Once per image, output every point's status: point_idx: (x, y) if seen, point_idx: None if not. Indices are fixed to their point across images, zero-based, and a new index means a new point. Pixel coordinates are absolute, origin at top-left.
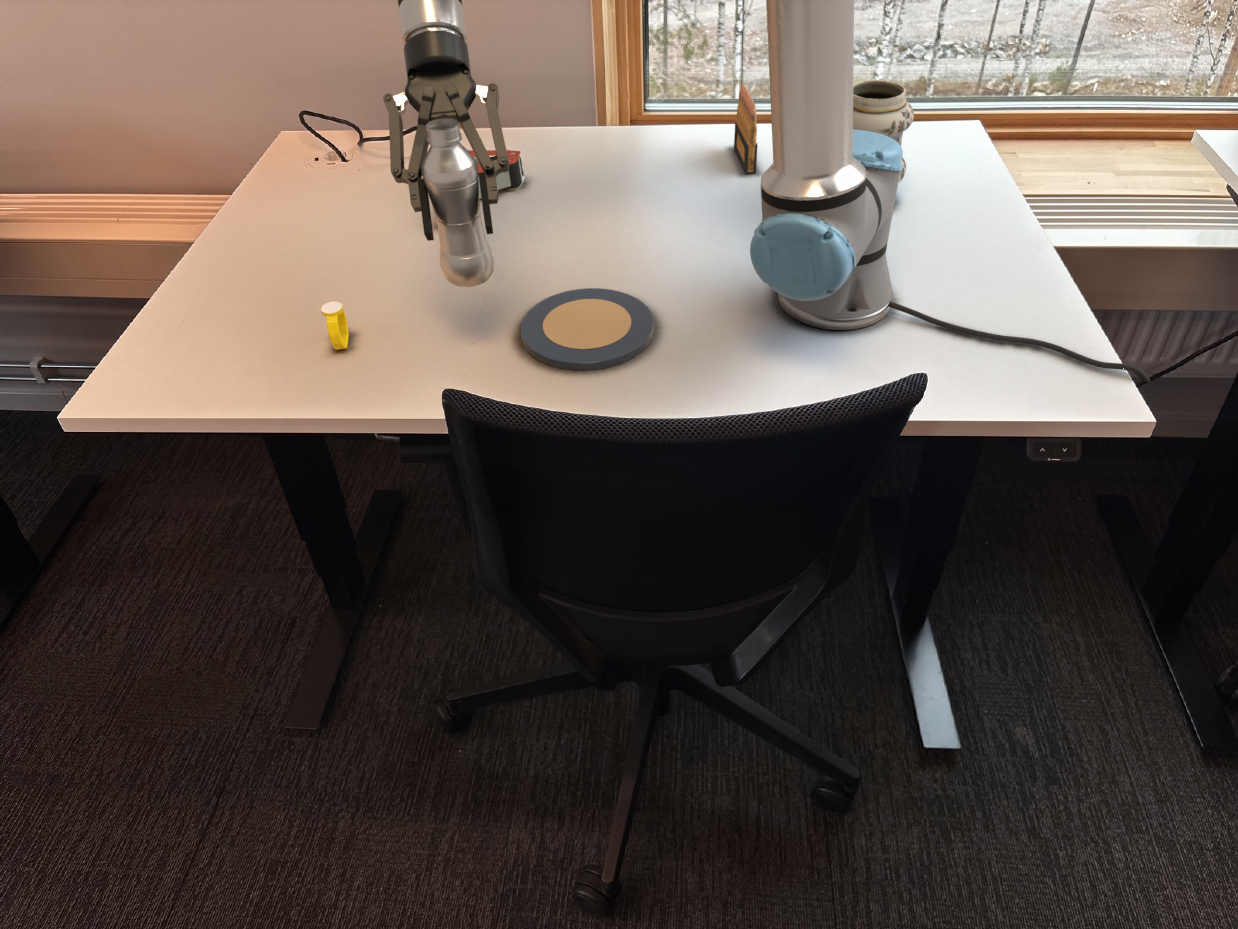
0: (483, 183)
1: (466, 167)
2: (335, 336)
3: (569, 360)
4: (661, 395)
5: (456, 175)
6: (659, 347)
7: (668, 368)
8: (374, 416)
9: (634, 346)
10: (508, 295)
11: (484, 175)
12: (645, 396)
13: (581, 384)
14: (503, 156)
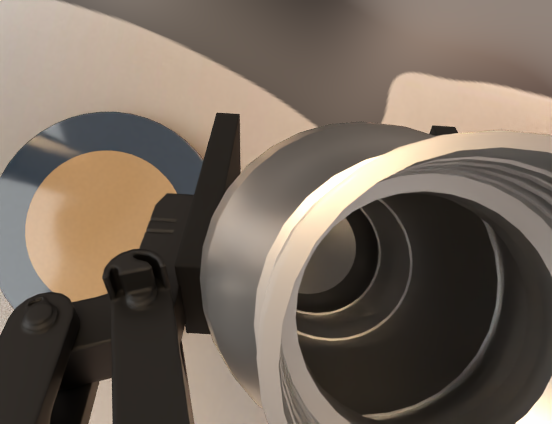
0: (198, 221)
1: (265, 162)
2: None
3: (155, 128)
4: (33, 25)
5: (332, 125)
6: (4, 150)
7: (5, 90)
8: (477, 85)
9: (39, 138)
10: (234, 385)
11: (181, 252)
12: (58, 29)
13: (149, 84)
14: (28, 331)
